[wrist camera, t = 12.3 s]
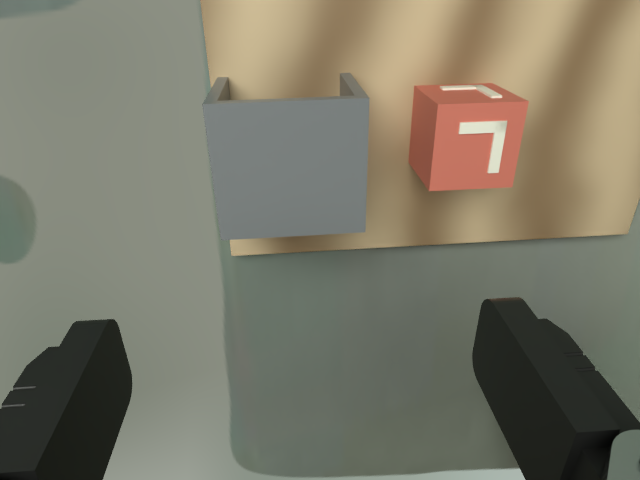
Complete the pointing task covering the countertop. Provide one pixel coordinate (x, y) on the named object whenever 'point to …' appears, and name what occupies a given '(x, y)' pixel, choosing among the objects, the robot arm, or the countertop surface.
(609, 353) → the countertop surface
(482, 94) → the letter cube
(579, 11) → the board
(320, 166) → the cover
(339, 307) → the countertop surface
